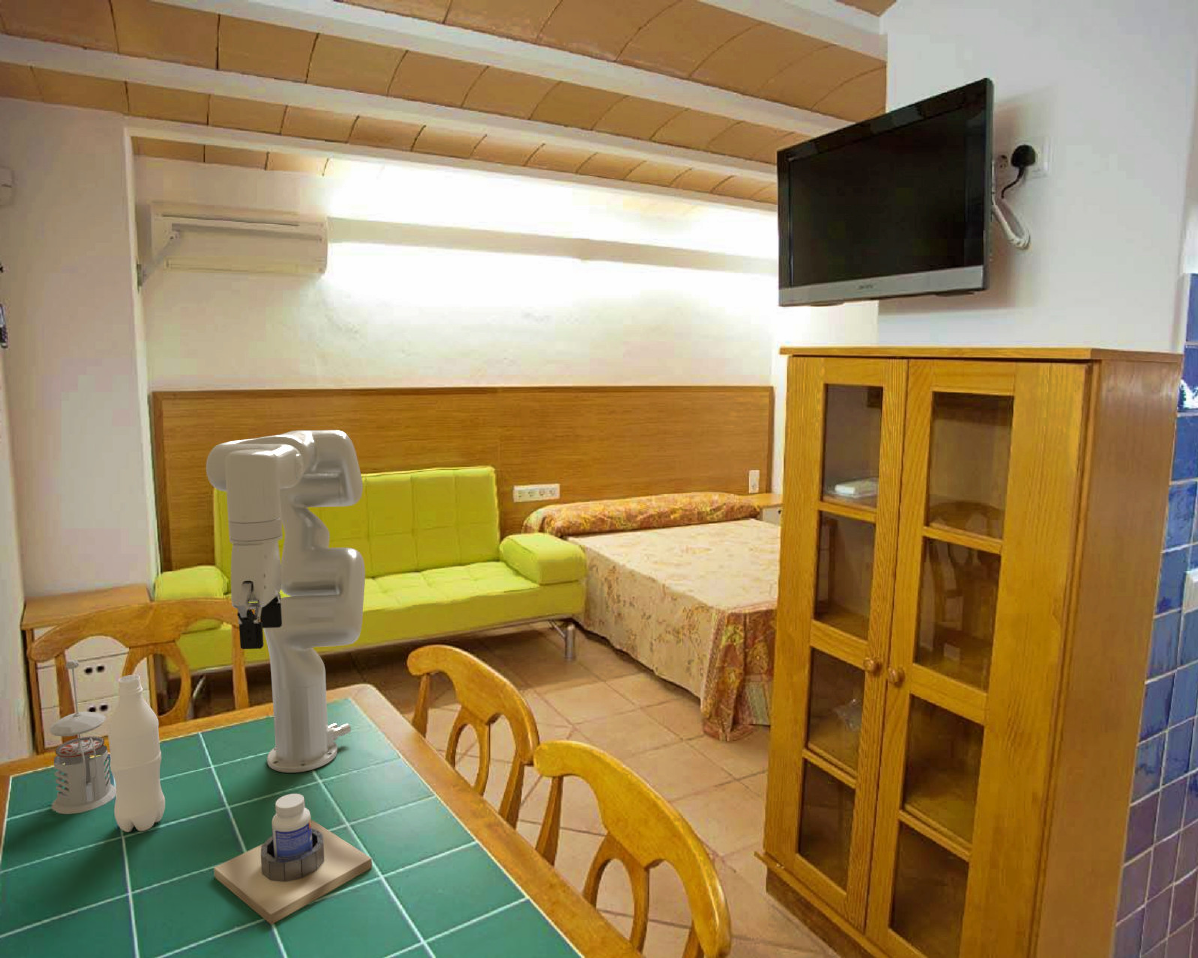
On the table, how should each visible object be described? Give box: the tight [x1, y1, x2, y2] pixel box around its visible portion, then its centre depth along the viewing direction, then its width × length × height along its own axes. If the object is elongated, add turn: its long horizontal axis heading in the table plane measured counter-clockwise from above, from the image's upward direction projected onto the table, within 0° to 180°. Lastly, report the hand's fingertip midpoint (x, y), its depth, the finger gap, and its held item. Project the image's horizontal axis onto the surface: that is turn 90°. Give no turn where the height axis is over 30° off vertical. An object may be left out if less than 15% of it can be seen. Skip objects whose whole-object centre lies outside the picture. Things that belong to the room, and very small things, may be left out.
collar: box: [261, 828, 324, 882], centre depth 119 cm, size 9×9×3 cm
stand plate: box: [213, 819, 373, 925], centre depth 119 cm, size 16×16×2 cm
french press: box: [49, 659, 116, 815], centre depth 137 cm, size 10×12×25 cm
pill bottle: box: [271, 793, 313, 859], centre depth 119 cm, size 5×5×10 cm
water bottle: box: [106, 674, 166, 833], centre depth 130 cm, size 7×7×25 cm
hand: (262, 637), depth 126 cm, fingers open, 9 cm apart
